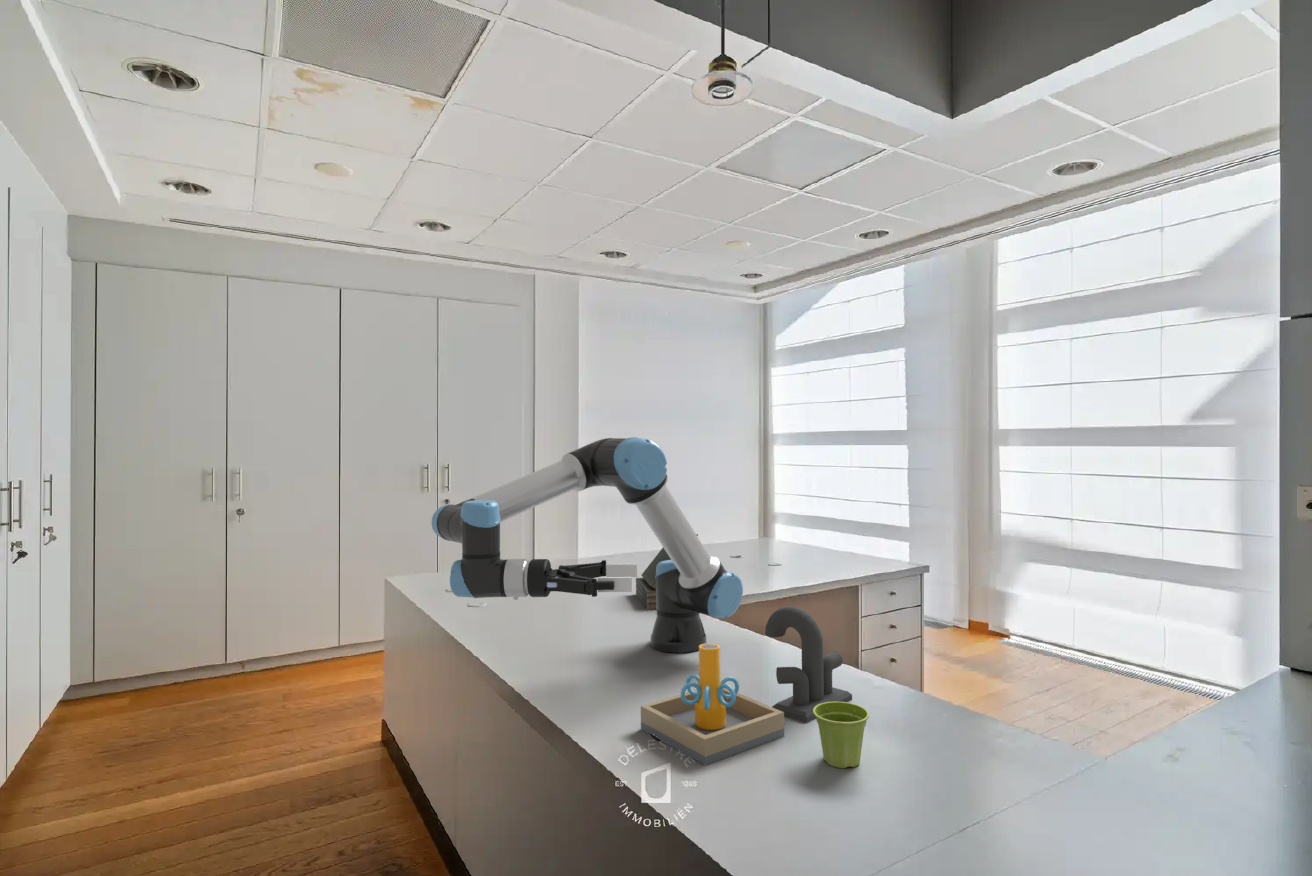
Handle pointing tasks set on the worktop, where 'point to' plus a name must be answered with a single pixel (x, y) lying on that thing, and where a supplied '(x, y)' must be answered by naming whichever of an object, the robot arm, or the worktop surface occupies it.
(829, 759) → the plant pot
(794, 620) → the faucet
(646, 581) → the grey slanted block structure
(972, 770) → the worktop surface
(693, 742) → the tan and grey tray
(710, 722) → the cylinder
